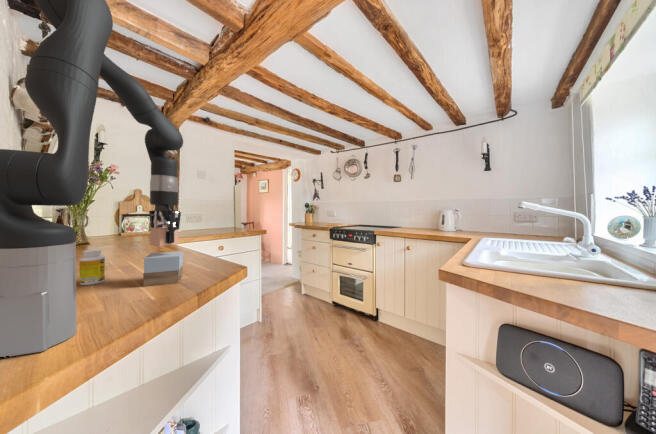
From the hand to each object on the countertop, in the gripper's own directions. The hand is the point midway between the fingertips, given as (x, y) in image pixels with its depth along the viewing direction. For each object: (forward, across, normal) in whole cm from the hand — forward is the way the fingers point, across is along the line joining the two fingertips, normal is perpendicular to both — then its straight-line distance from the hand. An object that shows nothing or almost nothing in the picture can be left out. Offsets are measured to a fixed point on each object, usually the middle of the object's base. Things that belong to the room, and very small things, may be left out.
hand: (164, 242), depth 76 cm
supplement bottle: (+13, +16, +12) cm, 24 cm away
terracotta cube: (+1, 0, 0) cm, 1 cm away
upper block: (+9, 0, 0) cm, 9 cm away
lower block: (+13, 0, 0) cm, 13 cm away
